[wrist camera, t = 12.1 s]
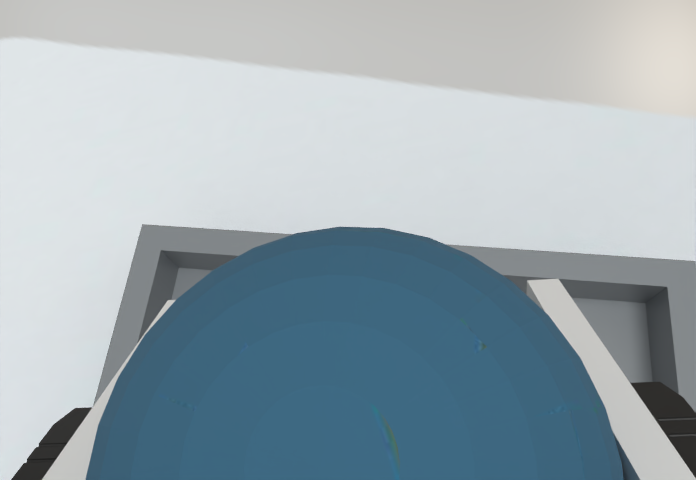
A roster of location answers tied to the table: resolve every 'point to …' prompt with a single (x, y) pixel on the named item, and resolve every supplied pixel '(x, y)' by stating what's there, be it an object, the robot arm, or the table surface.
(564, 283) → the tray
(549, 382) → the light bulb
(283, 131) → the table surface
